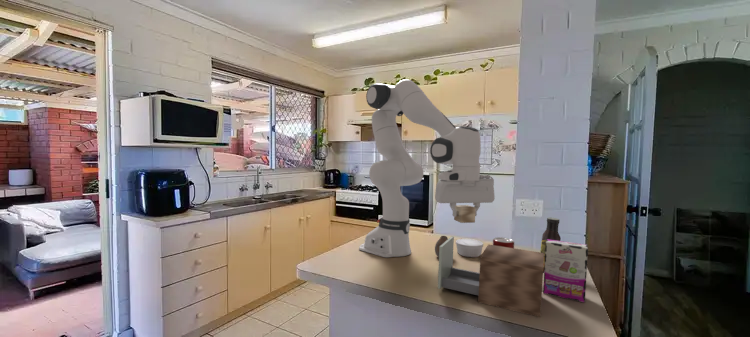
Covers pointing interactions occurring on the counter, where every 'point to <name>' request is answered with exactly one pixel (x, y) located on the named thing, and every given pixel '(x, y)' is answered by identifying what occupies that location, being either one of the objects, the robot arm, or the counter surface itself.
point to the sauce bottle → (550, 234)
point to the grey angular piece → (455, 272)
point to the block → (465, 214)
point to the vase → (439, 243)
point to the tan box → (511, 279)
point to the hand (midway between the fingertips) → (464, 216)
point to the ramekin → (469, 247)
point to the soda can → (503, 242)
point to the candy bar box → (565, 270)
